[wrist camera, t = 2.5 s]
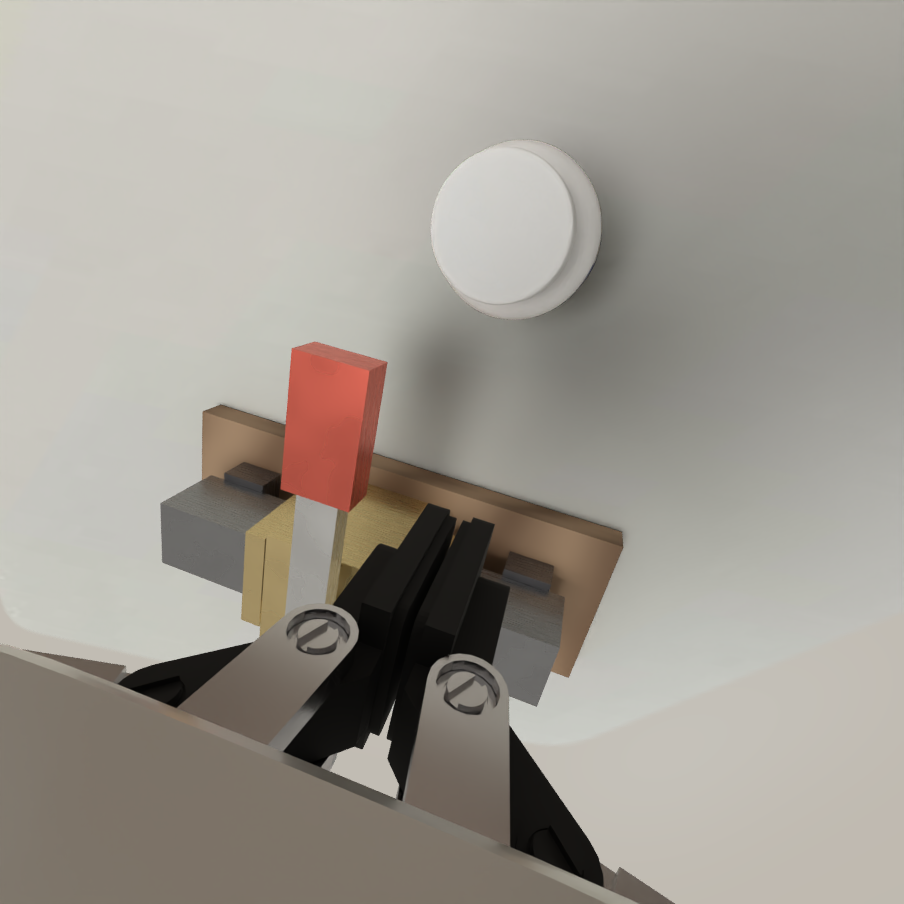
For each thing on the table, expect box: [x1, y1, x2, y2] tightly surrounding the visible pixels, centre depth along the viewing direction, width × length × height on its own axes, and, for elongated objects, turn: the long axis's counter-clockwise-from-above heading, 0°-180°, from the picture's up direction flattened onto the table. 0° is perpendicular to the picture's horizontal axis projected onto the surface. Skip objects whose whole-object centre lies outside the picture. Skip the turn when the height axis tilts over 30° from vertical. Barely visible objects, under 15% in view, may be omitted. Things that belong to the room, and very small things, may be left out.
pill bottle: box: [431, 140, 602, 320], centre depth 18 cm, size 5×5×10 cm
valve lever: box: [281, 342, 387, 615], centre depth 19 cm, size 14×3×2 cm, turn 168°
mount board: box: [202, 405, 623, 678], centre depth 29 cm, size 24×9×2 cm, turn 78°
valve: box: [161, 462, 565, 707], centre depth 25 cm, size 20×7×7 cm, turn 78°
